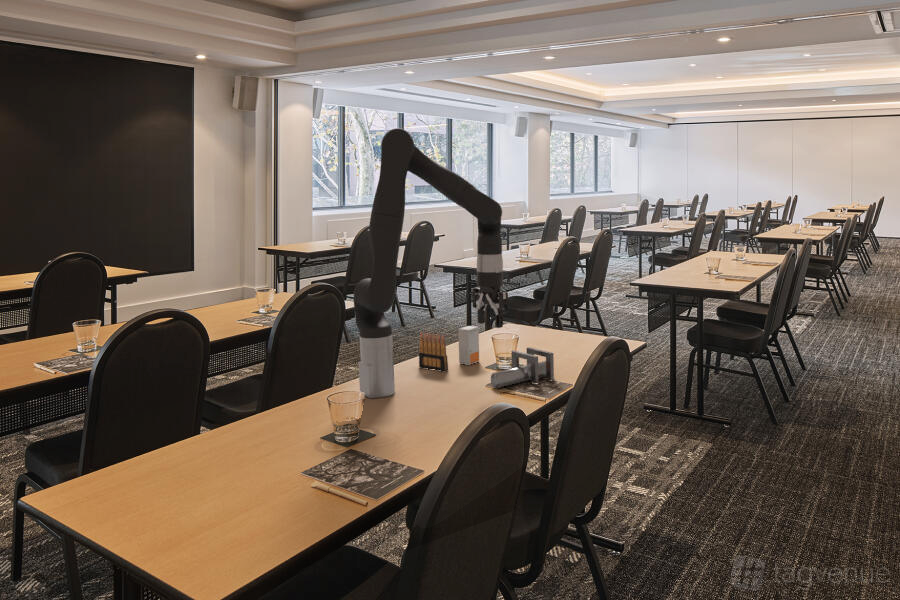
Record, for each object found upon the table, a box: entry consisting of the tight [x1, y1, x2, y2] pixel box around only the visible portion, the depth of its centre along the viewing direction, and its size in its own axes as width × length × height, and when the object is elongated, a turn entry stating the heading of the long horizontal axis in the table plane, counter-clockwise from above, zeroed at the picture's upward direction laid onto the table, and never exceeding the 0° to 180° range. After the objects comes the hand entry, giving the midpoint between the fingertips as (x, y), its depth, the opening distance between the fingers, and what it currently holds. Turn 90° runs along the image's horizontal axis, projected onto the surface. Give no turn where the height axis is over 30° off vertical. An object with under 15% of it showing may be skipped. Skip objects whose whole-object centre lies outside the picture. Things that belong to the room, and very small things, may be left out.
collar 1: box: [511, 350, 540, 383], centre depth 218 cm, size 1×11×8 cm, turn 35°
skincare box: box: [457, 325, 480, 366], centre depth 242 cm, size 6×4×12 cm
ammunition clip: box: [418, 331, 449, 372], centre depth 236 cm, size 11×2×12 cm, turn 52°
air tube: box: [490, 360, 546, 389], centre depth 218 cm, size 20×5×5 cm, turn 125°
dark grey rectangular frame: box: [526, 346, 555, 382], centre depth 222 cm, size 1×11×8 cm, turn 35°
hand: (490, 325), depth 213 cm, fingers open, 8 cm apart
